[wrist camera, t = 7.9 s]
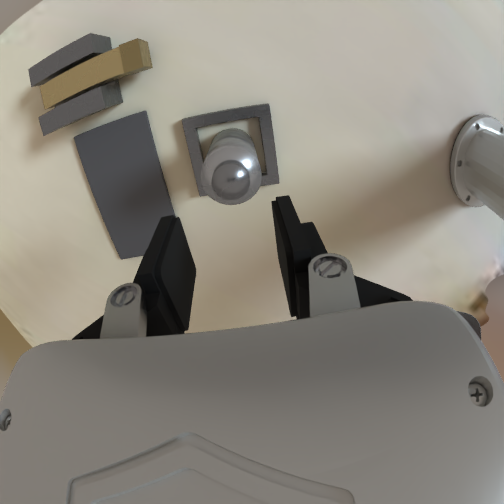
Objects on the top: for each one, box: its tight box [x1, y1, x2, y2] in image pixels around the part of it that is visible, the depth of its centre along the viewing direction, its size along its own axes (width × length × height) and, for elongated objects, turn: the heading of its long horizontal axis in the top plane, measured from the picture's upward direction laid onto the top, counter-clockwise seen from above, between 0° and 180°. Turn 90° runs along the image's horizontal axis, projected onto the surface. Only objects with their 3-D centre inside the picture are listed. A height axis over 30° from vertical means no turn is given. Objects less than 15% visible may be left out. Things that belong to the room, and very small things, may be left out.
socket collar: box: [182, 103, 279, 196], centre depth 24 cm, size 8×8×1 cm
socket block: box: [28, 33, 123, 136], centre depth 17 cm, size 7×7×4 cm
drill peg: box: [200, 128, 262, 205], centre depth 21 cm, size 4×4×9 cm
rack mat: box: [74, 111, 175, 259], centre depth 26 cm, size 8×15×1 cm, turn 8°
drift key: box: [40, 38, 152, 110], centre depth 17 cm, size 10×3×3 cm, turn 98°
